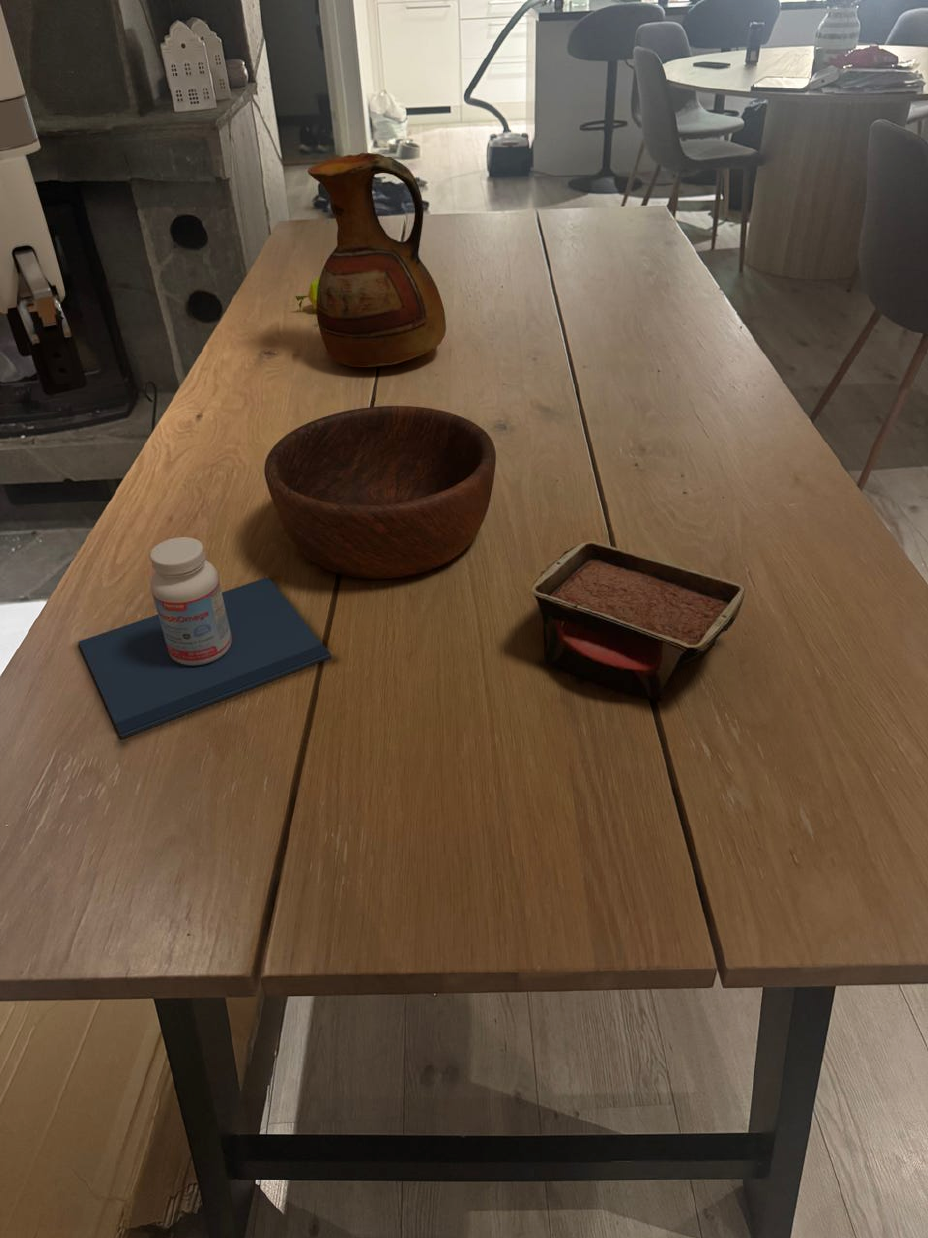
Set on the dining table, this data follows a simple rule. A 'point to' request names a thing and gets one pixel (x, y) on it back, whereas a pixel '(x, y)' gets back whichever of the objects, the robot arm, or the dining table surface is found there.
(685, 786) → the dining table surface
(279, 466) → the wooden bowl
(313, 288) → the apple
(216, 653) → the pill bottle
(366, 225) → the ceramic pitcher
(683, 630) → the baking dish
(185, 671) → the book
